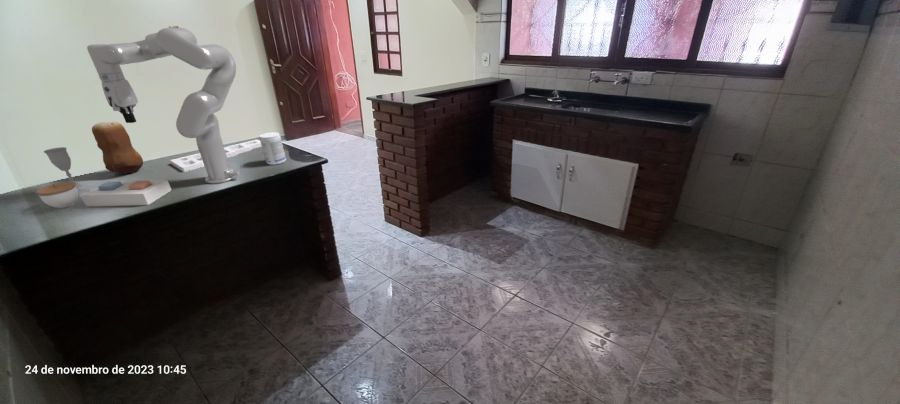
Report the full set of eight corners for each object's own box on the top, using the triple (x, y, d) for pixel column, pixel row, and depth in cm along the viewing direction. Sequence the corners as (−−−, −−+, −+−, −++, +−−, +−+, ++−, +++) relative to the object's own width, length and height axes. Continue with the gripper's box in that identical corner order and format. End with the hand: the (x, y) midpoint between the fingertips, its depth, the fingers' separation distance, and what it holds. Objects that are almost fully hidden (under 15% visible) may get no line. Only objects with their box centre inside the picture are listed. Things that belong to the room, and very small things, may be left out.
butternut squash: (137, 166, 180) (115, 117, 168) (152, 170, 175) (131, 120, 163) (104, 175, 169) (78, 124, 157) (119, 180, 164) (94, 127, 152)
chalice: (90, 186, 157) (70, 148, 149) (72, 193, 151) (50, 153, 143) (80, 184, 159) (60, 146, 151) (61, 190, 154) (39, 151, 145)
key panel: (171, 190, 153) (167, 179, 151) (148, 204, 141) (143, 193, 138) (115, 191, 152) (110, 180, 150) (86, 206, 140) (80, 195, 138)
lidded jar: (46, 205, 141) (33, 184, 137) (82, 196, 148) (71, 176, 144) (47, 214, 135) (34, 191, 130) (85, 204, 142) (73, 183, 138)
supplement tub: (287, 158, 188) (281, 131, 182) (284, 164, 180) (277, 136, 173) (268, 159, 187) (261, 132, 180) (264, 166, 178) (256, 137, 172)
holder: (258, 143, 214) (256, 139, 213) (273, 149, 204) (271, 144, 203) (171, 165, 182) (169, 160, 181) (184, 172, 172) (182, 167, 171)
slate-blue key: (123, 187, 147) (120, 181, 146) (113, 193, 143) (110, 186, 141) (111, 188, 147) (108, 181, 145) (101, 193, 142) (97, 186, 141)
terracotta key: (152, 187, 147) (149, 180, 146) (143, 192, 143) (140, 185, 142) (140, 187, 147) (137, 180, 146) (131, 192, 143) (128, 185, 141)
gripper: (106, 80, 136) (126, 126, 144) (135, 75, 149) (152, 118, 158) (86, 80, 136) (108, 127, 144) (117, 75, 149) (135, 118, 158)
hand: (131, 122), depth 151 cm, fingers closed
